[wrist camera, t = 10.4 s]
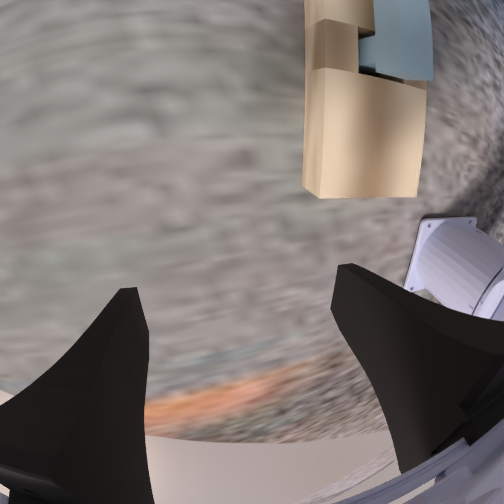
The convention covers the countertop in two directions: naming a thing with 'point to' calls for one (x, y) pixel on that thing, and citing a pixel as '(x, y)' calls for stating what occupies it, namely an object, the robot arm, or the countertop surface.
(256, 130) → the countertop surface
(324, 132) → the rail
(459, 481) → the robot arm
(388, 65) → the clip
